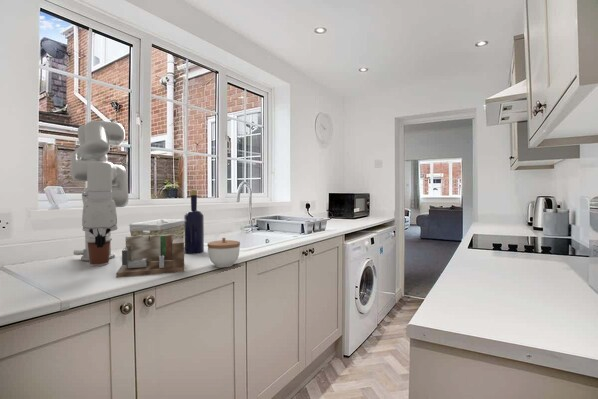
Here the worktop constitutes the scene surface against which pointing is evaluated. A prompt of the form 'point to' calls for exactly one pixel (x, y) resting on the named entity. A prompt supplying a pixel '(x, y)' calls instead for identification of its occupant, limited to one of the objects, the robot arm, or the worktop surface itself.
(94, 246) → the coffee cup
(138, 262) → the grey angle bracket
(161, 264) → the max needle
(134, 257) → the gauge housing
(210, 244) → the lidded bowl
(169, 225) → the storage basket
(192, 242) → the bottle
